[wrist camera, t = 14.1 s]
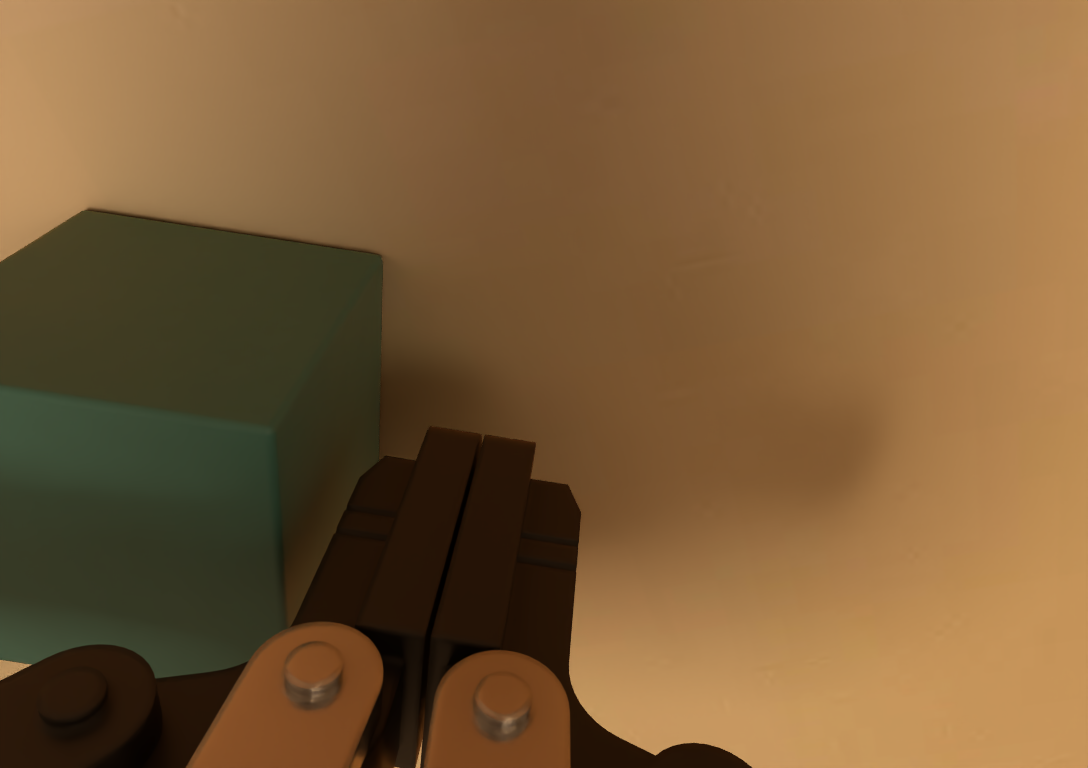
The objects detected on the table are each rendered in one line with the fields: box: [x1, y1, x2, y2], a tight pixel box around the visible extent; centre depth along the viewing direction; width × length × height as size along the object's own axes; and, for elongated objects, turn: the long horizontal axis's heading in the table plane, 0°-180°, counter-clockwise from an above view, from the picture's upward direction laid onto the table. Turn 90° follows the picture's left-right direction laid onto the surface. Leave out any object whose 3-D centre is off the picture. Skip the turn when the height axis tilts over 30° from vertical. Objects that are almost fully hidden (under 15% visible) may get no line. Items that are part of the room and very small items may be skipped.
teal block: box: [0, 210, 383, 678], centre depth 12 cm, size 5×5×5 cm
